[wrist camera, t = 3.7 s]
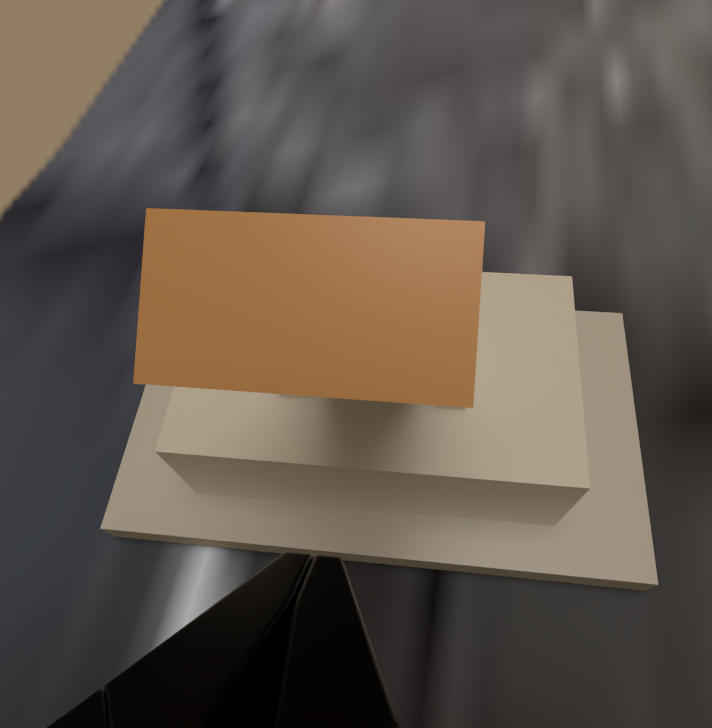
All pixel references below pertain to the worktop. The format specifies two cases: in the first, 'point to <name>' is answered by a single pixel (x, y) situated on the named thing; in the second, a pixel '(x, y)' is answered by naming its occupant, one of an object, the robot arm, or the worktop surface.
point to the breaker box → (418, 460)
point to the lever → (311, 305)
